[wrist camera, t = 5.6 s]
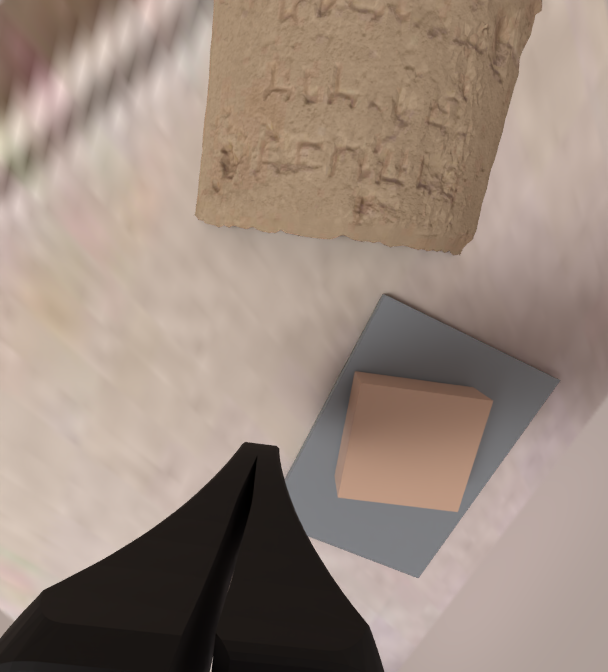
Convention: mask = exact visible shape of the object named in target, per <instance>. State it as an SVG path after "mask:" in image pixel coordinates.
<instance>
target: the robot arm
mask: <svg viewBox="0 0 608 672" xmlns="http://www.w3.org/2000/svg"><path fill="white" fill-rule="evenodd" d="M232 575H233V576H232ZM230 582H231V583H230ZM229 585H230V586H229ZM228 589H229V590H228ZM212 658H213V663H212ZM211 663H212V672H384V669H383V666H382V662H381V659H380V656H379V653H378V649H377V647H376V644H375V641H374V638H373V635H372V632H371V630H370V627H369V625H368V624H367V623H366V622H365V620H364V619H363V618H362V617H361V615H360V614H359V613H358V612H357V610H356V609H355V608H354V607H353V605H352V604H351V603H350V601H349V600H348V599H347V597H346V596H345V595H344V593H343V592H342V591H341V589H340V588H339V586H338V585H337V583H336V582H335V580H334V579H333V578H332V576H331V575H330V573H329V572H328V570H327V568H326V567H325V565H324V563H323V562H322V560H321V559H320V557H319V555H318V554H317V552H316V550H315V549H314V547H313V545H312V544H311V542H310V540H309V538H308V536H307V534H306V532H305V530H304V528H303V526H302V524H301V522H300V520H299V518H298V515H297V513H296V511H295V508H294V506H293V503H292V501H291V498H290V495H289V492H288V489H287V486H286V483H285V479H284V476H283V472H282V468H281V463H280V456H279V448H278V447H277V446H272V445H264V444H256V443H248V442H245V443H243V444H242V445H241V447H240V448H239V449H238V451H237V452H236V453H235V454H234V455H233V457H232V458H231V459H230V460H229V461H228V463H227V464H226V465H225V466H224V467H223V468H222V469H221V470H220V471H219V472H218V473H217V474H216V475H215V476H214V477H213V478H212V479H211V480H210V481H209V482H208V483H207V484H206V485H205V486H204V487H203V488H202V489H201V490H200V491H199V492H198V493H197V494H196V495H194V496H193V497H192V498H191V499H190V500H189V501H188V502H186V503H185V504H184V505H183V506H182V507H180V508H179V509H178V510H177V511H175V512H174V513H173V514H171V515H170V516H169V517H167V518H166V519H165V520H163V521H162V522H161V523H159V524H158V525H156V526H155V527H154V528H152V529H151V530H149V531H148V532H147V533H145V534H144V535H142V536H141V537H139V538H138V539H136V540H134V541H133V542H131V543H129V544H128V545H126V546H125V547H123V548H121V549H120V550H118V551H116V552H115V553H113V554H111V555H110V556H108V557H106V558H105V559H103V560H101V561H99V562H97V563H96V564H94V565H92V566H90V567H88V568H86V569H84V570H82V571H80V572H78V573H76V574H74V575H73V576H71V577H69V578H67V579H65V580H63V581H61V582H59V583H57V584H55V585H53V586H51V587H49V588H47V589H45V590H43V591H42V592H41V593H40V595H39V596H38V597H37V598H36V599H35V600H34V601H33V602H32V603H31V604H30V605H29V606H28V607H27V608H26V609H25V610H24V611H23V613H22V614H21V615H20V616H19V617H18V618H17V619H16V620H15V622H14V623H13V624H12V625H11V626H10V627H9V628H8V630H7V631H6V632H5V633H4V634H3V636H2V637H1V638H0V672H210V667H211Z"/></svg>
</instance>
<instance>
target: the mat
mask: <svg viewBox="0 0 608 672" xmlns="http://www.w3.org/2000/svg"><path fill="white" fill-rule="evenodd" d="M355 371H358V372H365V373H372V374H380V375H387V376H394V377H402V378H409V379H416V380H424V381H431V382H438V383H446V384H453V385H460V386H468V387H474V388H475V389H477V390H478V391H480V392H481V393H483V394H484V395H486V396H487V397H488V398H490V399H491V400H493V404H492V407H491V410H490V413H489V416H488V419H487V422H486V425H485V429H484V432H483V435H482V438H481V441H480V444H479V447H478V450H477V454H476V457H475V460H474V463H473V466H472V469H471V472H470V475H469V479H468V482H467V485H466V488H465V491H464V494H463V497H462V501H461V504H460V507H459V510H458V512H453V511H445V510H436V509H428V508H420V507H412V506H404V505H395V504H387V503H379V502H371V501H362V500H354V499H346V498H338V496H337V489H336V483H335V476H334V475H335V470H336V465H337V460H338V455H339V450H340V445H341V440H342V434H343V429H344V424H345V419H346V414H347V409H348V404H349V399H350V393H351V388H352V383H353V378H354V373H355ZM559 382H560V380H558V379H556V378H554V377H552V376H550V375H548V374H546V373H544V372H542V371H540V370H538V369H536V368H534V367H532V366H530V365H528V364H526V363H524V362H522V361H520V360H518V359H515V358H513V357H511V356H509V355H507V354H505V353H503V352H501V351H499V350H497V349H495V348H493V347H491V346H489V345H487V344H485V343H483V342H481V341H479V340H477V339H475V338H473V337H470V336H468V335H466V334H464V333H462V332H460V331H458V330H456V329H454V328H452V327H450V326H448V325H446V324H444V323H442V322H440V321H438V320H436V319H434V318H432V317H430V316H428V315H425V314H423V313H421V312H419V311H417V310H415V309H413V308H411V307H409V306H407V305H405V304H403V303H401V302H399V301H397V300H395V299H393V298H391V297H389V296H387V295H384V294H383V295H382V297H381V298H380V300H379V302H378V304H377V306H376V308H375V310H374V312H373V314H372V315H371V317H370V319H369V321H368V323H367V325H366V327H365V329H364V331H363V332H362V334H361V336H360V338H359V340H358V342H357V344H356V346H355V348H354V349H353V351H352V353H351V355H350V357H349V359H348V361H347V363H346V365H345V366H344V368H343V370H342V372H341V374H340V376H339V378H338V380H337V382H336V383H335V385H334V387H333V389H332V391H331V393H330V395H329V397H328V399H327V401H326V402H325V404H324V406H323V408H322V410H321V412H320V414H319V416H318V418H317V419H316V421H315V423H314V425H313V427H312V429H311V431H310V433H309V435H308V436H307V438H306V440H305V442H304V444H303V446H302V448H301V450H300V452H299V453H298V455H297V457H296V459H295V461H294V463H293V465H292V467H291V469H290V470H289V472H288V474H287V476H286V478H285V483H286V486H287V489H288V492H289V495H290V498H291V501H292V503H293V506H294V508H295V511H296V513H297V515H298V518H299V520H300V522H301V524H302V526H303V528H304V530H305V532H306V534H307V536H309V537H312V538H314V539H317V540H319V541H322V542H325V543H327V544H330V545H332V546H335V547H338V548H340V549H343V550H346V551H348V552H351V553H353V554H356V555H359V556H361V557H364V558H366V559H369V560H372V561H374V562H377V563H379V564H382V565H385V566H387V567H390V568H393V569H395V570H398V571H400V572H403V573H406V574H408V575H411V576H413V577H416V578H419V577H420V575H421V574H422V572H423V571H424V570H425V568H426V567H427V565H428V564H429V563H430V561H431V560H432V558H433V557H434V556H435V554H436V553H437V552H438V550H439V549H440V547H441V546H442V545H443V543H444V542H445V540H446V539H447V538H448V536H449V535H450V533H451V532H452V531H453V529H454V528H455V526H456V525H457V524H458V522H459V521H460V520H461V518H462V517H463V515H464V514H465V513H466V511H467V510H468V508H469V507H470V506H471V504H472V503H473V501H474V500H475V499H476V497H477V496H478V494H479V493H480V492H481V490H482V489H483V487H484V486H485V485H486V483H487V482H488V481H489V479H490V478H491V476H492V475H493V474H494V472H495V471H496V469H497V468H498V467H499V465H500V464H501V462H502V461H503V460H504V458H505V457H506V455H507V454H508V453H509V451H510V450H511V449H512V447H513V446H514V444H515V443H516V442H517V440H518V439H519V437H520V436H521V435H522V433H523V432H524V430H525V429H526V428H527V426H528V425H529V423H530V422H531V421H532V419H533V418H534V416H535V415H536V414H537V412H538V411H539V410H540V408H541V407H542V405H543V404H544V403H545V401H546V400H547V398H548V397H549V396H550V394H551V393H552V391H553V390H554V389H555V387H556V386H557V384H558V383H559Z"/></svg>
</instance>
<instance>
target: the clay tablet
mask: <svg viewBox="0 0 608 672" xmlns="http://www.w3.org/2000/svg"><path fill="white" fill-rule="evenodd" d="M541 8H542V0H214V12H213V26H212V40H211V50H210V69H209V84H208V96H207V106H206V113H205V121H204V130H203V143H202V148H203V151H202V157H201V166H200V175H199V187H198V197H197V204H196V212H195V216H197V218H198V220H203V221H204V222H205V223H207V224H211V225H215V226H217V227H221V226H223V225H225V226H227V227H231V226H234V225H235V226H237V227H240V228H244V229H248V228H250V227H254V228H256V229H257V230H260V231H262V232H268V233H271V232H273V233H276V232H278V231H280V230H282V231H284V232H285V233H290V234H294V235H298V236H305V237H311V238H312V237H313V238H321V239H333V238H336V237H338V236H341V235H345V236H347V237H349V238H351V239H353V240H359V241H361V242H362V241H370V242H372V243H375V242H381V243H383V244H384V245H387V246H389V247H392V246H401V245H404V246H408V247H411V248H414V249H417V250H419V249H424V250H426V251H431V250H434V251H437V252H438V251H441V250H442V251H443V252H444V253H446V252H448V251H450V253H451V254H453V255H458V254H459V255H460V254H461V251H462V249H463V248H464V247H465V245H466V244H467V243H469V242H470V241H471V240H472V239H473V236H474V234H475V232H476V229H477V225H478V220H479V216H480V211H481V206H482V202H483V199H484V196H485V193H486V189H487V185H488V180H489V175H490V171H491V168H492V165H493V163H494V160H495V157H496V153H497V149H498V145H499V142H500V139H501V135H502V132H503V128H504V122H505V118H506V115H507V112H508V108H509V104H510V101H511V97H512V93H513V90H514V86H515V83H516V80H517V78H518V73H519V60H520V56H521V53H522V51H523V49H524V47H525V45H526V43H527V41H528V39H529V37H530V35H531V31H532V26H533V23H534V19H535V15H536V14H537V13H539V12H540V11H541Z"/></svg>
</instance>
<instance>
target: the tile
mask: <svg viewBox="0 0 608 672" xmlns="http://www.w3.org/2000/svg"><path fill="white" fill-rule="evenodd" d="M492 404H493V400H491V399H490V398H488V397H487V396H486V395H484V394H483V393H481V392H480V391H478V390H477V389H475V388H474V387H468V386H460V385H453V384H446V383H438V382H431V381H424V380H416V379H409V378H402V377H394V376H387V375H380V374H372V373H365V372H358V371H355V373H354V378H353V383H352V388H351V393H350V399H349V404H348V409H347V414H346V419H345V424H344V429H343V434H342V440H341V445H340V450H339V455H338V460H337V465H336V470H335V475H334V476H335V483H336V489H337V496H338V498H346V499H354V500H362V501H371V502H379V503H387V504H395V505H404V506H412V507H420V508H428V509H436V510H445V511H453V512H458V510H459V507H460V504H461V501H462V497H463V494H464V491H465V488H466V485H467V482H468V479H469V475H470V472H471V469H472V466H473V463H474V460H475V457H476V454H477V450H478V447H479V444H480V441H481V438H482V435H483V432H484V429H485V425H486V422H487V419H488V416H489V413H490V410H491V407H492Z"/></svg>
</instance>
